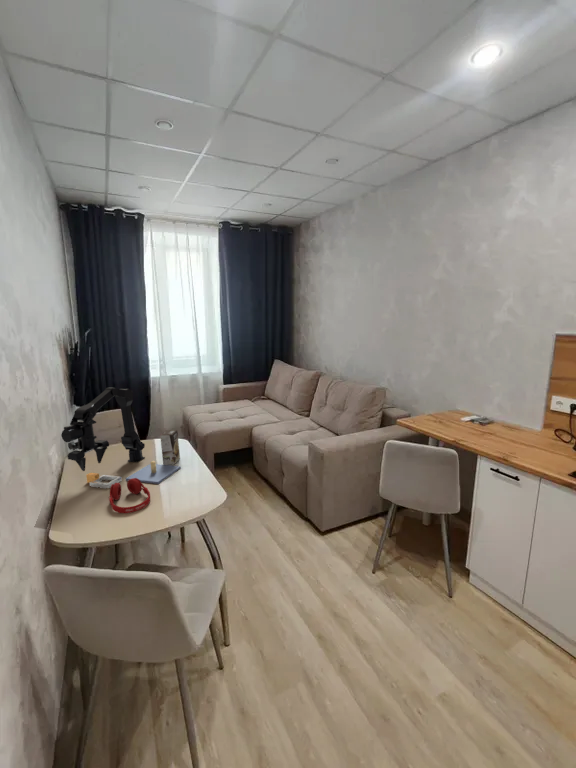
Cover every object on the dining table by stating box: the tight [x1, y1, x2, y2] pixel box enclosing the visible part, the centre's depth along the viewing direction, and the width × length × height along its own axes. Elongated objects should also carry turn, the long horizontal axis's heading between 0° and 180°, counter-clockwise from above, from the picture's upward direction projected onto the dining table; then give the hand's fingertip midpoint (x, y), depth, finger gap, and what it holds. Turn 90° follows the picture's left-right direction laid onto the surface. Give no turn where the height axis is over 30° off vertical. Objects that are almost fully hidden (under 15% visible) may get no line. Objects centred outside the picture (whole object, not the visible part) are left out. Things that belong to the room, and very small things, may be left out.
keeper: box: [125, 460, 181, 485], centre depth 177 cm, size 18×18×7 cm
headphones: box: [108, 478, 151, 514], centre depth 151 cm, size 15×7×20 cm
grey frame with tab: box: [86, 472, 122, 489], centre depth 170 cm, size 15×8×4 cm, turn 73°
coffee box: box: [159, 429, 181, 466], centre depth 192 cm, size 9×6×16 cm
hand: (91, 466), depth 170 cm, fingers open, 9 cm apart
